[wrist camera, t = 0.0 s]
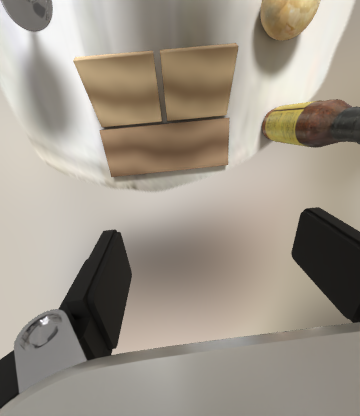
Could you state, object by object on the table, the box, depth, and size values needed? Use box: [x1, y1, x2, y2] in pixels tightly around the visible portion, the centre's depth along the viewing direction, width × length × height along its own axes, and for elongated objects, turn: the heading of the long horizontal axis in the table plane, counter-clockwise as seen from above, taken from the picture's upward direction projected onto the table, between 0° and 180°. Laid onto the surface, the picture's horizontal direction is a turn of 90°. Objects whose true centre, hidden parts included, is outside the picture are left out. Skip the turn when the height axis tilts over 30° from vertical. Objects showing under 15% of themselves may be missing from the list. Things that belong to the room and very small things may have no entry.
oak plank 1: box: [73, 50, 162, 127], centre depth 30 cm, size 10×11×1 cm
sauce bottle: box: [262, 99, 360, 147], centre depth 28 cm, size 7×6×20 cm
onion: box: [260, 0, 320, 40], centre depth 27 cm, size 8×8×7 cm
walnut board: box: [100, 118, 229, 177], centre depth 37 cm, size 9×24×1 cm, turn 95°
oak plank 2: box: [160, 43, 238, 121], centre depth 30 cm, size 10×11×1 cm
